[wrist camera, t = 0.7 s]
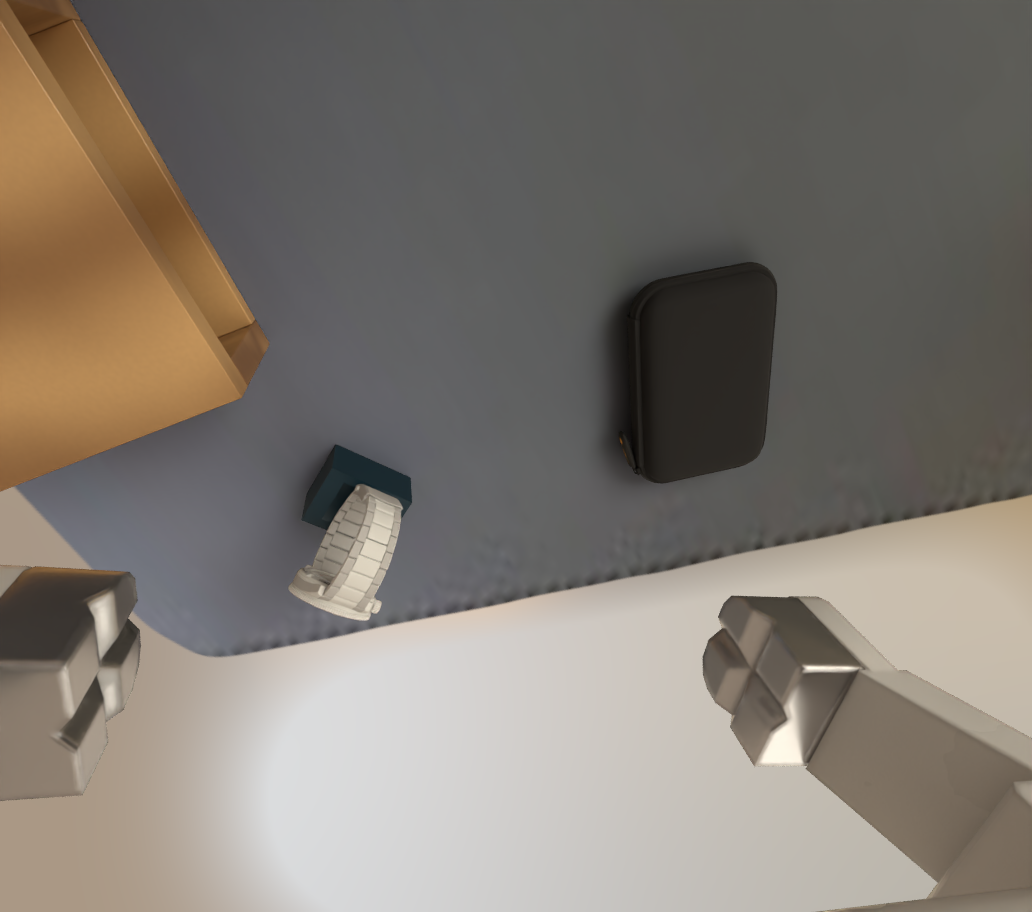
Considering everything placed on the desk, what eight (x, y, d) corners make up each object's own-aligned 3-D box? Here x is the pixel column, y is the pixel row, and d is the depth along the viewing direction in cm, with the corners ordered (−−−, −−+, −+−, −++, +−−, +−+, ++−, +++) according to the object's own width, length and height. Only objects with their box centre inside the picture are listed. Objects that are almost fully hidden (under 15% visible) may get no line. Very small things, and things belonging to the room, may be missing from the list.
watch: (294, 515, 42) (266, 631, 33) (348, 422, 39) (335, 520, 30) (368, 544, 44) (363, 661, 35) (424, 458, 42) (434, 560, 32)
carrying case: (603, 282, 38) (616, 479, 45) (619, 295, 35) (629, 502, 43) (764, 252, 39) (750, 450, 46) (791, 262, 36) (772, 470, 44)
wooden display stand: (-215, 86, 27) (-422, 77, 20) (57, -22, 27) (-57, -68, 20) (66, 422, 36) (-9, 495, 29) (270, 344, 36) (242, 398, 29)
